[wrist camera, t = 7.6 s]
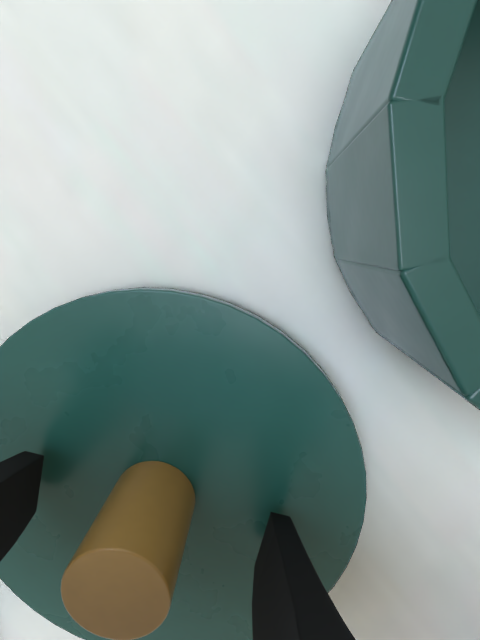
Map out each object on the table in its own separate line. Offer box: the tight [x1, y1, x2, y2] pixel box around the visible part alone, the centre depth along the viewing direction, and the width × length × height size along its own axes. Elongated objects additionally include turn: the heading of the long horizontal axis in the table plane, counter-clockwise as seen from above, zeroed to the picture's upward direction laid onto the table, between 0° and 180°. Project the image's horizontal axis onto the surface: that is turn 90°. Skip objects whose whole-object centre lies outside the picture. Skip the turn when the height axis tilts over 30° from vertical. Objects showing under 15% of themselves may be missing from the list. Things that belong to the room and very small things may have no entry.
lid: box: [0, 287, 366, 640], centre depth 11 cm, size 13×13×4 cm
